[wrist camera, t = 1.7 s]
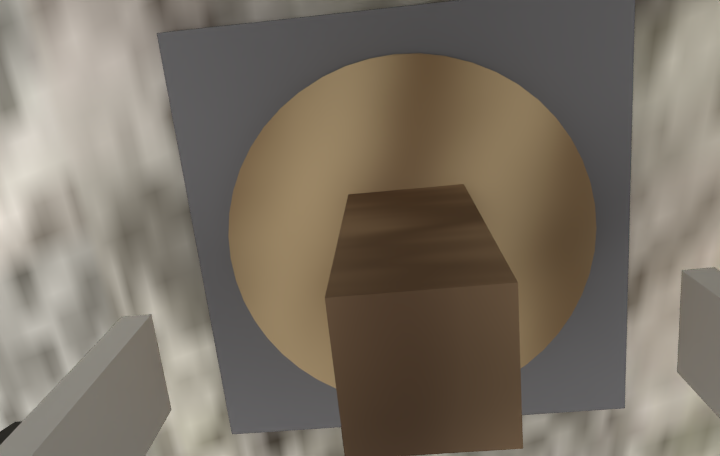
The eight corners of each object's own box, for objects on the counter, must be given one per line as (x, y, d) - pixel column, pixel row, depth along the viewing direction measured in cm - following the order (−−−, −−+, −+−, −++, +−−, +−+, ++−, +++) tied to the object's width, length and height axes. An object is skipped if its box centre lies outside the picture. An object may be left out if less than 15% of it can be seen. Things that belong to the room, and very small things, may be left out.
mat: (629, -18, 21) (635, -20, 20) (620, 401, 25) (624, 408, 25) (161, 33, 22) (156, 33, 21) (234, 427, 26) (231, 434, 26)
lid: (588, 33, 21) (764, 29, 11) (586, 377, 24) (717, 596, 15) (207, 73, 21) (66, 101, 12) (262, 400, 25) (188, 620, 16)
